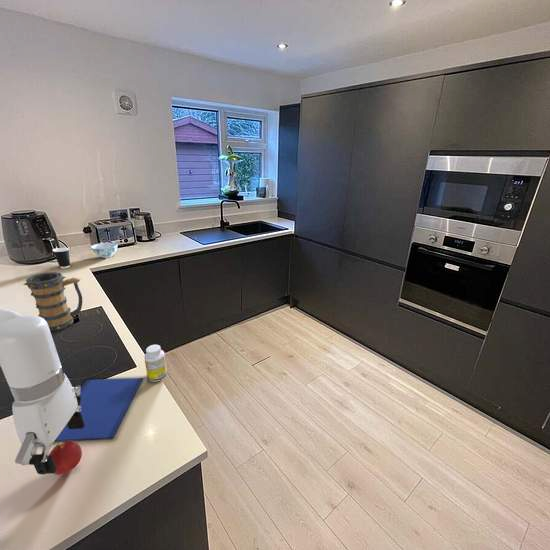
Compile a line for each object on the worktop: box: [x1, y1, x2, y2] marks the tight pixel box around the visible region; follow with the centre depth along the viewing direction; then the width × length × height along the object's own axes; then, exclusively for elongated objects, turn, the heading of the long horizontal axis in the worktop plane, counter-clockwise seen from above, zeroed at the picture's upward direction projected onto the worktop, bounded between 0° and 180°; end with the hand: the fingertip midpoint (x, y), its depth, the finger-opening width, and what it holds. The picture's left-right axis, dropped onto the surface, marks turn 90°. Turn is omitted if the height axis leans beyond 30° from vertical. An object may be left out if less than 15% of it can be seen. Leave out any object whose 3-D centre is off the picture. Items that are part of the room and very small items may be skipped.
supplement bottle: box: [143, 344, 168, 382], centre depth 86 cm, size 6×6×10 cm
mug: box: [22, 271, 83, 332], centre depth 111 cm, size 13×17×20 cm
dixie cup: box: [52, 247, 71, 269], centre depth 170 cm, size 8×8×11 cm
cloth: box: [54, 377, 144, 442], centre depth 77 cm, size 16×20×1 cm
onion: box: [49, 440, 83, 476], centre depth 60 cm, size 6×6×8 cm
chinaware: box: [91, 242, 118, 259], centre depth 190 cm, size 15×15×8 cm
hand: (63, 448), depth 59 cm, fingers open, 9 cm apart
